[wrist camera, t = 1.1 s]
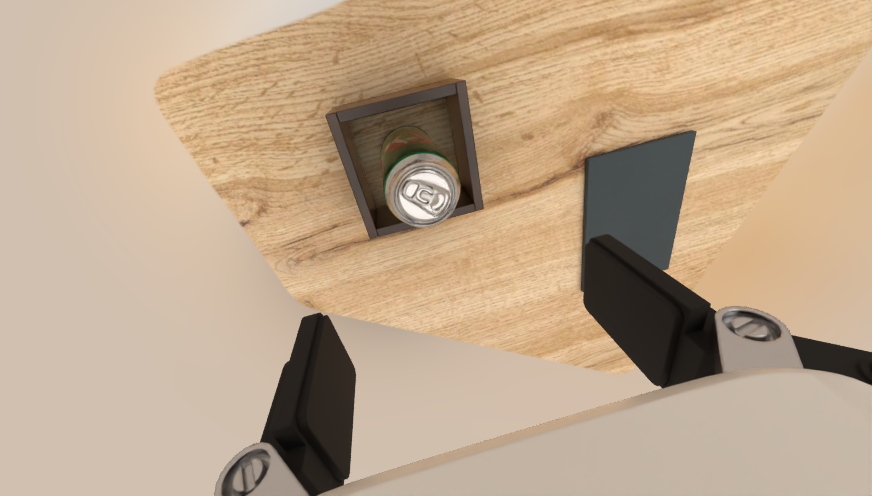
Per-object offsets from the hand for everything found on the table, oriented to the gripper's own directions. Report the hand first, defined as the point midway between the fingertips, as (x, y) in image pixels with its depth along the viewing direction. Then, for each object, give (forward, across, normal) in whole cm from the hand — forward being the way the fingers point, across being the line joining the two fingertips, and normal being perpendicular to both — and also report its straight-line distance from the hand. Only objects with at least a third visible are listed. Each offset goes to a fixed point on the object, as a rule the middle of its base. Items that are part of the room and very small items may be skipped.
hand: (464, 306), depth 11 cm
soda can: (+22, 0, -1) cm, 22 cm away
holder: (+22, 0, -1) cm, 22 cm away
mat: (+22, -24, +13) cm, 35 cm away
